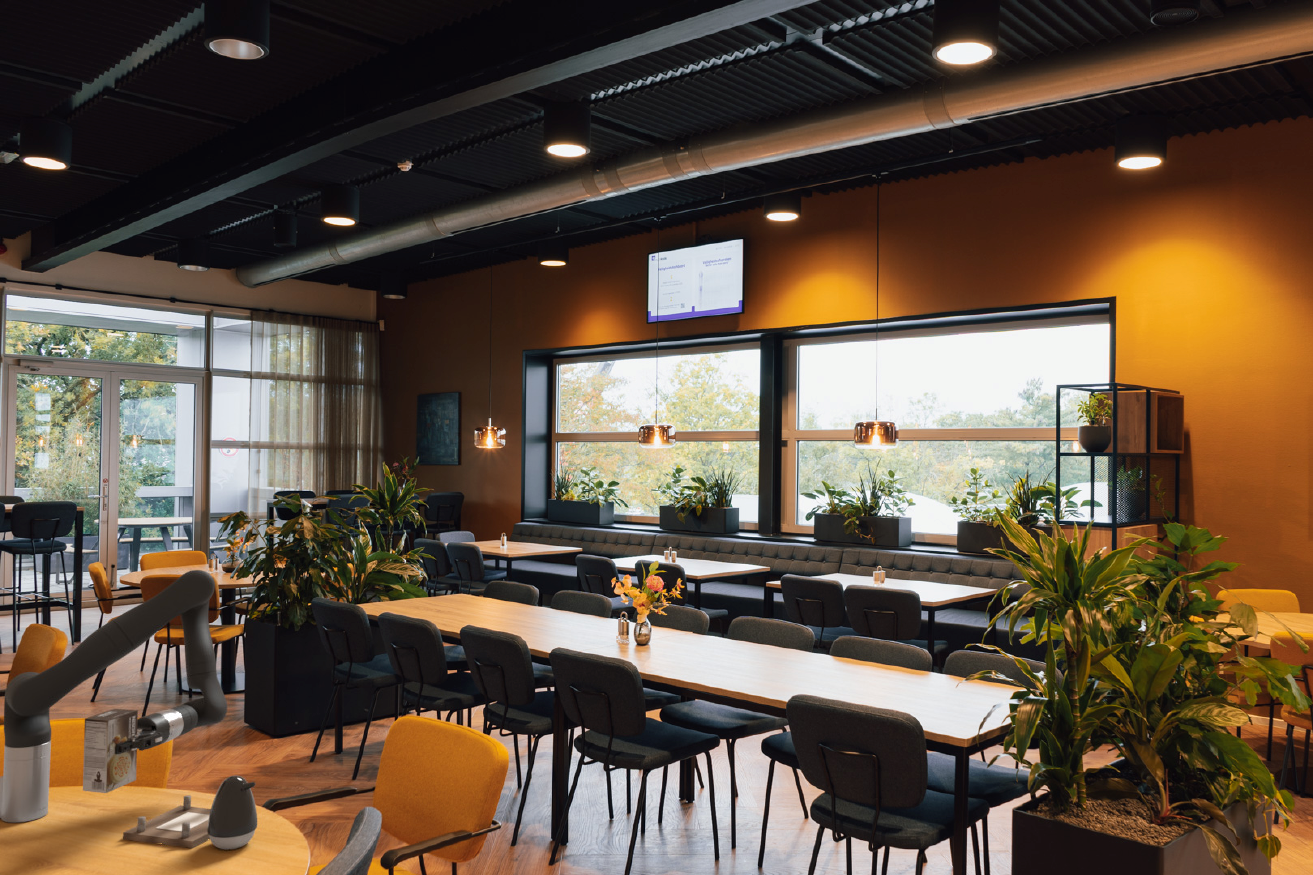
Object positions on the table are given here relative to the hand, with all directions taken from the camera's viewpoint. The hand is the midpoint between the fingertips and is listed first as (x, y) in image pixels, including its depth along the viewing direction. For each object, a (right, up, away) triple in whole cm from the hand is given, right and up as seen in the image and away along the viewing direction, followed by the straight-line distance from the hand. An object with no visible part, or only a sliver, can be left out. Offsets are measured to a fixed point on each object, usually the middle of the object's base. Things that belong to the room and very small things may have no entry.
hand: (103, 748), depth 214 cm
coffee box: (0, -9, +2) cm, 9 cm away
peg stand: (+14, -21, +8) cm, 27 cm away
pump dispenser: (+29, -22, 0) cm, 36 cm away
